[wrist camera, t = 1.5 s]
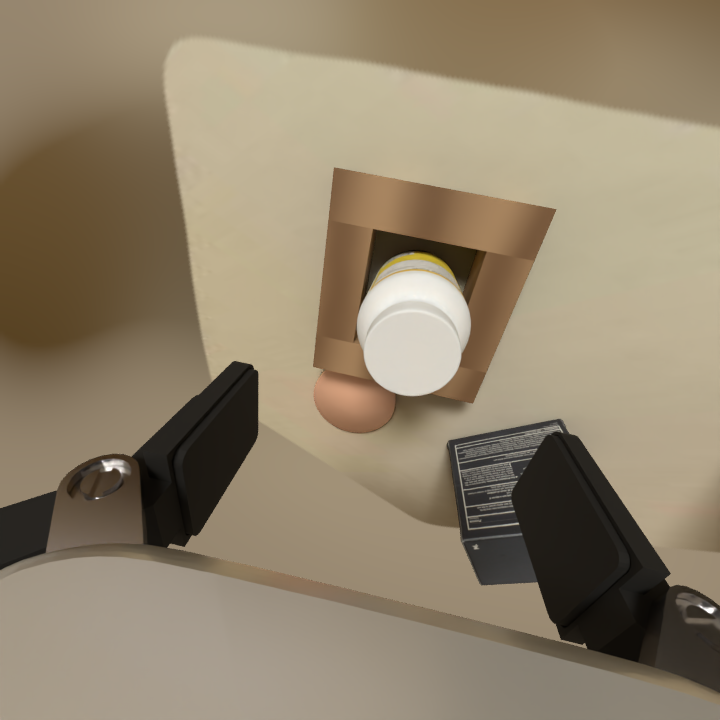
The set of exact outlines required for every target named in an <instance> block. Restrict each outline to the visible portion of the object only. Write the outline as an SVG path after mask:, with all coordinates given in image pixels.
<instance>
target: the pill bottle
mask: <svg viewBox="0 0 720 720" xmlns="http://www.w3.org/2000/svg"><path fill="white" fill-rule="evenodd" d="M470 331H471V318H470V313H469V309H468V306H467V303H466V301H465V299H464V296H463V294H462V292H461V290H460V287H459V285H458V283H457V281H456V279H455V277H454V274H453V272H452V270H451V269H450V267H449V266H448V265H447V264H446V263H445V262H444V261H443V260H442V259H441V258H440V257H438V256H436V255H434V254H432V253H430V252H426V251H421V250H411V251H406V252H402V253H399V254H397V255H395V256H393V257H392V258H390V259H389V260H388V261H387V262H386V263H385V264H384V265H383V266H382V267H381V268H380V270H379V271H378V273H377V275H376V277H375V279H374V281H373V283H372V285H371V287H370V289H369V291H368V293H367V295H366V297H365V299H364V301H363V303H362V305H361V307H360V310H359V313H358V318H357V335H358V339H359V343H360V345H361V348H362V350H363V354H364V361H365V364H366V367H367V369H368V371H369V373H370V375H371V376H372V377H373V379H374V380H375V381H376V382H377V383H378V384H379V385H381V386H382V387H383V388H385V389H387V390H389V391H391V392H393V393H396V394H399V395H405V396H422V395H426V394H429V393H432V392H434V391H436V390H439V389H440V388H442V387H443V386H445V385H446V384H447V383H448V382H449V381H450V380H451V379H452V378H453V376H454V375H455V373H456V372H457V370H458V368H459V365H460V361H461V354H462V352H463V351H464V349H465V347H466V345H467V342H468V340H469V336H470Z"/></svg>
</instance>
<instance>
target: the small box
mask: <svg viewBox="0 0 720 720" xmlns="http://www.w3.org/2000/svg"><path fill="white" fill-rule="evenodd" d="M556 431H558V432H562V433H567V434H569V432H568V431H567V429H566V427H565V424H564V422H563V421H562V420H561V419H557V420H552V421H546V422H541V423H536V424H531V425H526V426H521V427H516V428H511V429H506V430H501V431H495V432H490V433H485V434H480V435H475V436H470V437H465V438H460V439H455V440H450V441H449V442H448V444H447V447H448V450H449V454H450V461H451V468H452V477H453V483H454V490H455V497H456V504H457V511H458V518H459V525H460V534H461V542H462V544H463V546H464V549H465V551H466V553H467V556H468V558H469V560H470V562H471V565H472V567H473V569H474V572H475V574H476V576H477V579H478V581H479V583H480V584H481V585H495V584H514V583H531V582H538V581H537V578H536V575H535V572H534V569H533V566H532V563H531V560H530V557H529V554H528V551H527V547H526V544H525V541H524V538H523V535H522V532H521V529H520V526H519V523H518V520H517V517H516V514H515V510H514V507H513V504H512V501H511V493H512V490H513V488H514V486H515V485H516V483H517V482H518V480H519V478H520V477H521V475H522V473H523V472H524V470H525V469H526V467H527V465H528V464H529V462H530V460H531V459H532V457H533V456H534V454H535V452H536V451H537V449H538V447H539V446H540V444H541V443H542V441H543V439H544V438H545V436H546V435H551V434H552V433H553V432H556Z"/></svg>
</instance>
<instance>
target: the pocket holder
mask: <svg viewBox="0 0 720 720" xmlns="http://www.w3.org/2000/svg"><path fill="white" fill-rule="evenodd" d="M555 212H556V209H552V208H546V207H541V206H536V205H531V204H525V203H520V202H515V201H509V200H504V199H499V198H493V197H488V196H483V195H477V194H472V193H467V192H461V191H456V190H451V189H446V188H440V187H435V186H430V185H424V184H419V183H414V182H408V181H403V180H398V179H392V178H387V177H382V176H377V175H371V174H366V173H361V172H355V171H350V170H345V169H339V168H334V173H333V182H332V192H331V201H330V211H329V220H328V230H327V239H326V249H325V258H324V268H323V277H322V287H321V296H320V306H319V315H318V325H317V334H316V344H315V353H314V363H313V367H316V368H320V369H325V370H329V371H333V372H338V373H342V374H346V375H351V376H355V377H360V378H364V379H368V380H373V381H375V380H374V379H373V377H372V376H371V375H370V373H369V371H368V369H367V367H366V364H365V361H364V354H363V350H362V348H361V345H360V343H359V339H358V335H357V318H358V313H359V310H360V307H361V305H362V303H363V301H364V299H365V294H366V289H367V283H368V277H369V272H370V266H371V261H372V255H373V249H374V244H375V238H376V232H377V230H381V231H386V232H391V233H396V234H401V235H407V236H412V237H417V238H422V239H427V240H432V241H437V242H442V243H447V244H452V245H457V246H462V247H467V248H472V249H477V253H476V256H475V258H474V261H473V264H472V267H471V270H470V273H469V276H468V279H467V282H466V285H465V288H464V291H463V296H464V299H465V301H466V303H467V306H468V309H469V313H470V318H471V331H470V336H469V340H468V342H467V345H466V347H465V349H464V351H463V352H462V354H461V361H460V365H459V368H458V370H457V372H456V373H455V375H454V376H453V378H452V379H451V380H450V381H449V382H448V383H447V384H446V385H445V386H443V387H442V388H440V389H439V390H436V391H434V392H432V393H429V394H434V395H438V396H442V397H447V398H451V399H455V400H460V401H464V402H468V403H473V402H474V400H475V397H476V395H477V393H478V390H479V388H480V386H481V383H482V381H483V379H484V377H485V374H486V372H487V370H488V367H489V365H490V363H491V360H492V358H493V356H494V353H495V351H496V349H497V346H498V344H499V342H500V339H501V337H502V335H503V332H504V330H505V328H506V325H507V323H508V321H509V318H510V316H511V314H512V311H513V309H514V307H515V305H516V302H517V300H518V298H519V295H520V293H521V291H522V288H523V286H524V284H525V281H526V279H527V277H528V274H529V272H530V270H531V267H532V265H533V263H534V260H535V258H536V256H537V253H538V251H539V249H540V246H541V244H542V242H543V239H544V237H545V235H546V233H547V230H548V228H549V226H550V223H551V221H552V219H553V216H554V214H555Z"/></svg>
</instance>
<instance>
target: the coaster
mask: <svg viewBox="0 0 720 720" xmlns="http://www.w3.org/2000/svg"><path fill="white" fill-rule="evenodd" d="M314 401H315V404H316V407H317V409H318V410H319V412H320V413H321V415H322V416H323V417H324V418H325V419H326V420H327V421H328V422H329V423H331V424H332V425H334V426H336V427H338V428H340V429H342V430H345V431H349V432H357V433H363V432H369V431H373V430H376V429H378V428H380V427H382V426H383V425H385V424H386V423H387V422H388V421H389V419H390V418H391V416H392V415H393V412H394V409H395V403H396V396H395V393H393V392H391V391H389V390H387V389H385V388H383V387H382V386H381V385H379V384H378V383H377V382H376V381H373V380H368V379H364V378H360V377H355V376H351V375H346V374H342V373H338V372H333V371H329V370H325V371H324V372H323V373H322V374H321V375H320V377H319V379H318V380H317V382H316V385H315V388H314Z"/></svg>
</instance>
